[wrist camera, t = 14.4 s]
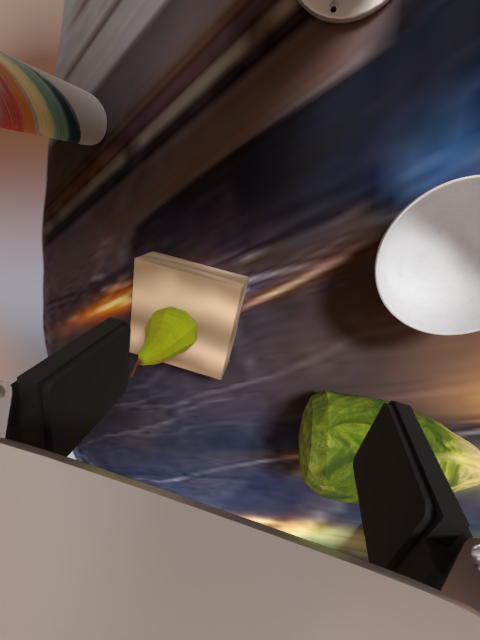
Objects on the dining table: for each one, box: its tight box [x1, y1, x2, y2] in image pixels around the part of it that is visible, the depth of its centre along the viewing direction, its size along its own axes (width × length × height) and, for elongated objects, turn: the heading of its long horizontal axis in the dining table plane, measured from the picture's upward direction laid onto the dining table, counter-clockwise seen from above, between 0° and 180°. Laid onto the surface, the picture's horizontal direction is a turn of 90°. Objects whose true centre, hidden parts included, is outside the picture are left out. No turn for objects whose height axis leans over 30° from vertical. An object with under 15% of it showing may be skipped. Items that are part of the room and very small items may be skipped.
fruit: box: [131, 307, 197, 378], centre depth 34 cm, size 6×6×12 cm
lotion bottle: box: [0, 52, 107, 145], centre depth 28 cm, size 6×6×20 cm
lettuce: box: [299, 390, 480, 504], centre depth 39 cm, size 14×23×13 cm, turn 89°
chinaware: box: [375, 175, 480, 335], centre depth 31 cm, size 15×15×8 cm
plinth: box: [129, 251, 249, 380], centre depth 42 cm, size 14×14×5 cm
